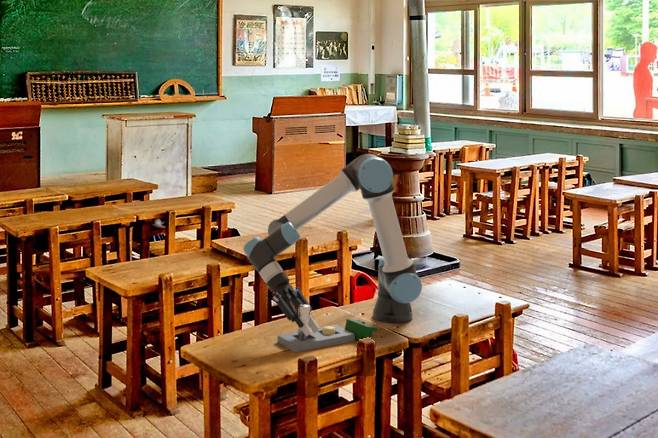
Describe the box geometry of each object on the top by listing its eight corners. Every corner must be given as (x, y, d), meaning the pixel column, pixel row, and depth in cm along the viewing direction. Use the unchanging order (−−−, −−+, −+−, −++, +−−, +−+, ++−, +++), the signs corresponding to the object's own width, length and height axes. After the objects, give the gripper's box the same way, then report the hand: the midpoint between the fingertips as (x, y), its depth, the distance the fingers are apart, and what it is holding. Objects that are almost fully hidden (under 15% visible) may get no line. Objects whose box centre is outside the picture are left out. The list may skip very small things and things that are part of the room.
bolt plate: (336, 331, 295) (336, 320, 295) (354, 340, 285) (355, 329, 285) (277, 341, 283) (277, 330, 282) (294, 352, 273) (294, 340, 272)
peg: (305, 337, 284) (306, 303, 282) (311, 340, 281) (312, 306, 278) (295, 338, 282) (296, 305, 280) (301, 342, 278) (302, 308, 276)
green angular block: (370, 351, 288) (382, 330, 285) (358, 350, 284) (370, 330, 281) (353, 330, 296) (364, 310, 293) (341, 329, 292) (352, 308, 289)
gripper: (283, 278, 293) (320, 331, 287) (253, 288, 279) (291, 344, 273) (295, 266, 289) (333, 320, 283) (265, 276, 276) (305, 332, 270)
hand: (313, 332), depth 278 cm, fingers closed on peg, 4 cm apart
